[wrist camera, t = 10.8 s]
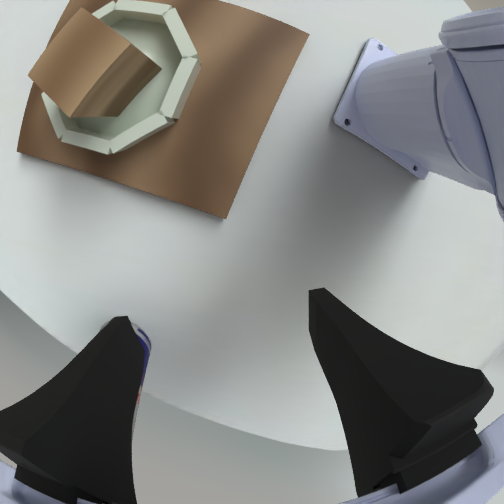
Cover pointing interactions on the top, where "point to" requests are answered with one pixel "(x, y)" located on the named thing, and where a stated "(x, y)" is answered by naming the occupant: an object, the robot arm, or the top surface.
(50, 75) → the brown wooden block
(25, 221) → the top surface
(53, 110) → the octagonal green bowl
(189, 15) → the walnut board
